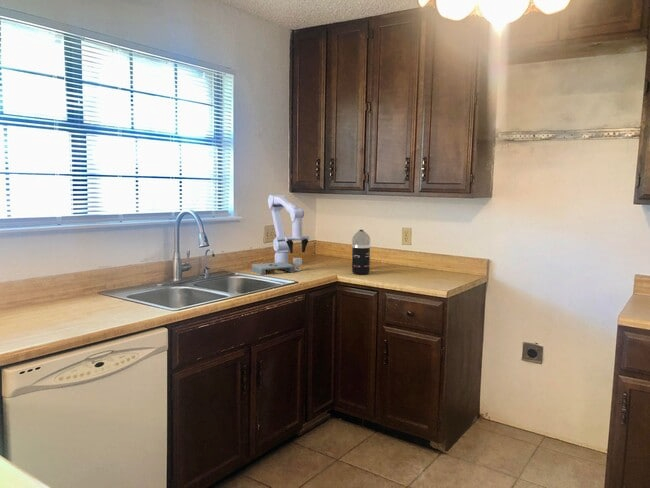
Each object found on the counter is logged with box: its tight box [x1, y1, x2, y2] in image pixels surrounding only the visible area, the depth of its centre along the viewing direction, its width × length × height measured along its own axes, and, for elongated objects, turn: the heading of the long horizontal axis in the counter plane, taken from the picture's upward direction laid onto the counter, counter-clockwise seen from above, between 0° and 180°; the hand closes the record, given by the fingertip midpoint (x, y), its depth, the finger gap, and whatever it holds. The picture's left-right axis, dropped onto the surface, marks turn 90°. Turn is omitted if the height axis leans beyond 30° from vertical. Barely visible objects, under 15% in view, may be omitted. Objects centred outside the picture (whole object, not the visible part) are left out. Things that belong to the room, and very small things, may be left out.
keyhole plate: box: [251, 262, 296, 276], centre depth 303 cm, size 16×20×4 cm
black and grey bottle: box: [351, 229, 371, 276], centre depth 296 cm, size 10×10×25 cm
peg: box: [292, 257, 303, 272], centre depth 307 cm, size 4×4×7 cm
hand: (297, 252), depth 306 cm, fingers open, 7 cm apart
